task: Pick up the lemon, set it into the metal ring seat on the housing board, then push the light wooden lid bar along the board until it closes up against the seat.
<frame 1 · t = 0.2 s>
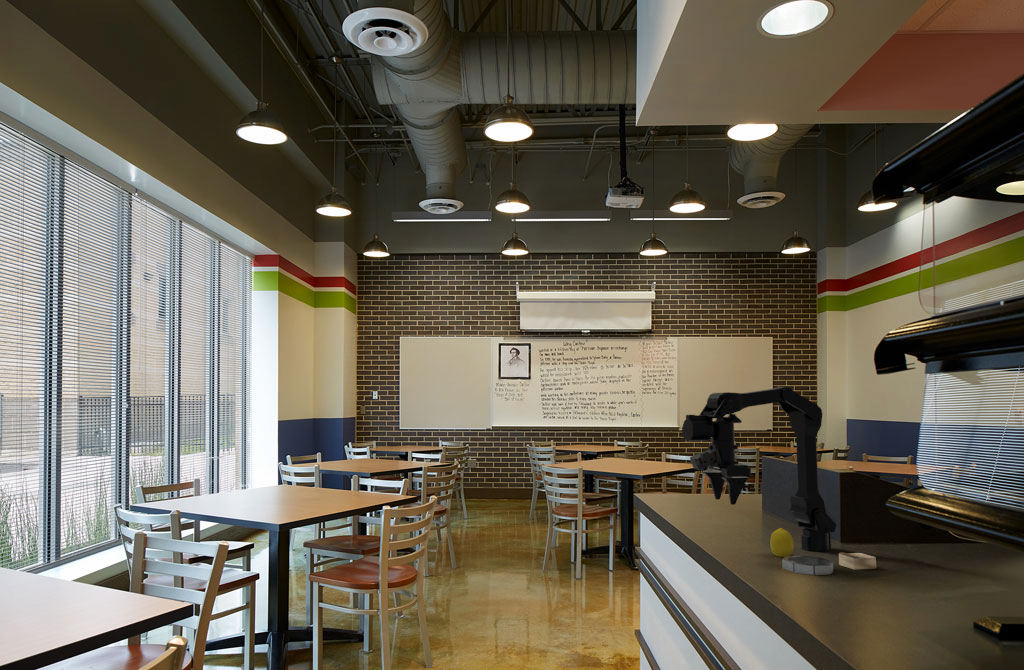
hand: (725, 501, 174), 14 cm above the counter, fingers open, 9 cm apart
lemon: (782, 560, 171), on the counter
housing board: (829, 572, 158), on the counter
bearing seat: (807, 569, 157), resting on housing board
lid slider: (857, 560, 160), point 3 cm above the counter, slide at 5.0 cm
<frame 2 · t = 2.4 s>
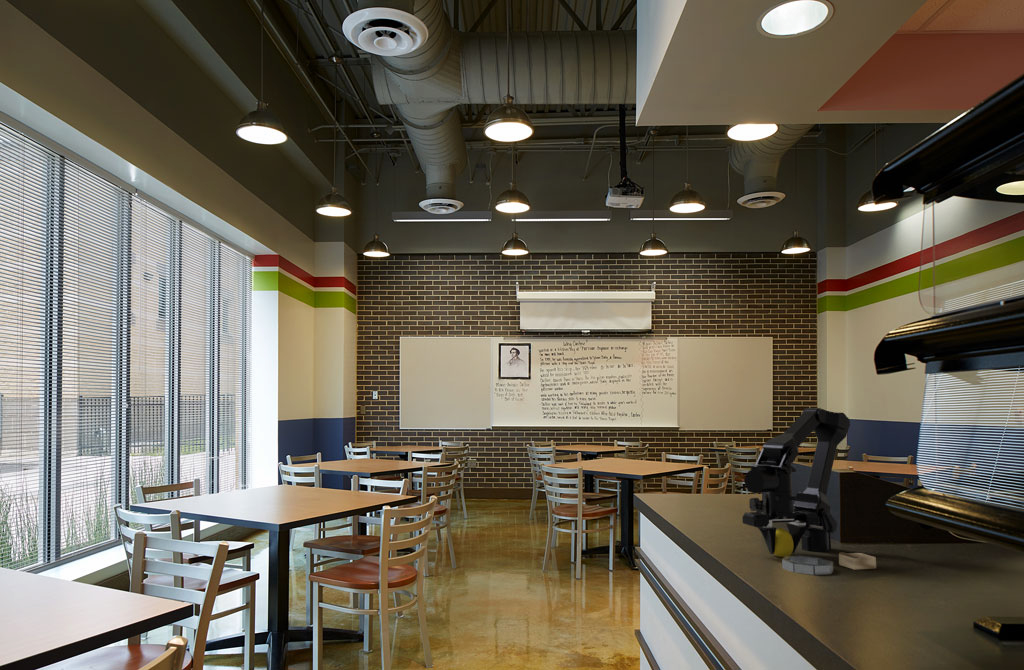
hand: (782, 553, 171), 2 cm above the counter, fingers closed on lemon, 5 cm apart
lemon: (782, 560, 171), on the counter, touching gripper
everything else where it was.
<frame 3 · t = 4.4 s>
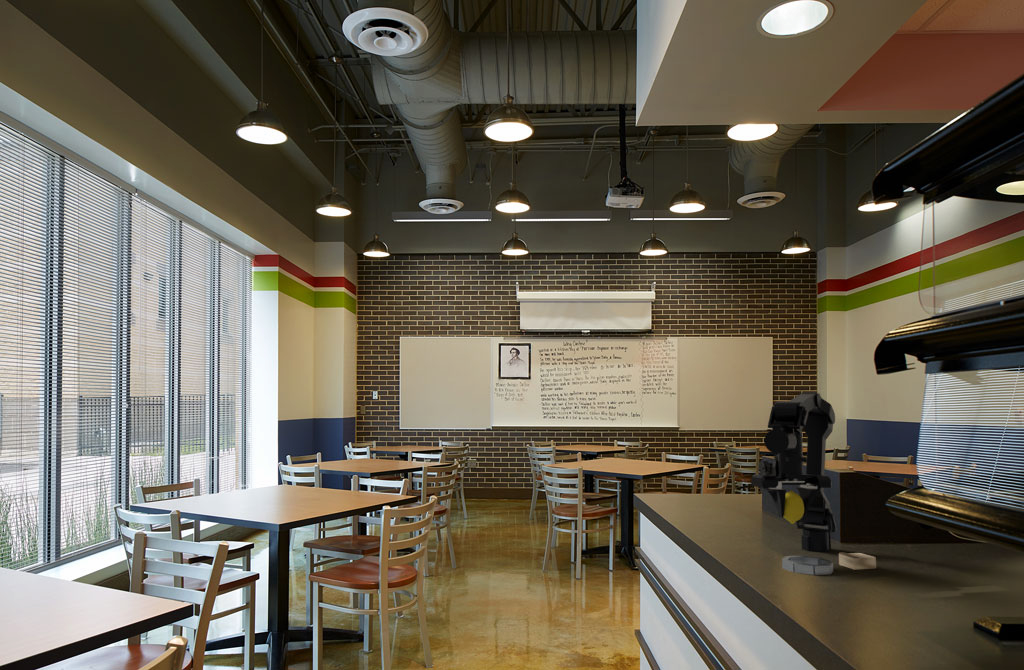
hand: (792, 517, 164), 12 cm above the counter, fingers closed on lemon, 5 cm apart
lemon: (792, 524, 164), point 10 cm above the counter, touching gripper
everything else where it was.
when the fingers open (4 cm above the counter, at t = 6.6 s): lemon drops 1 cm, resting on housing board.
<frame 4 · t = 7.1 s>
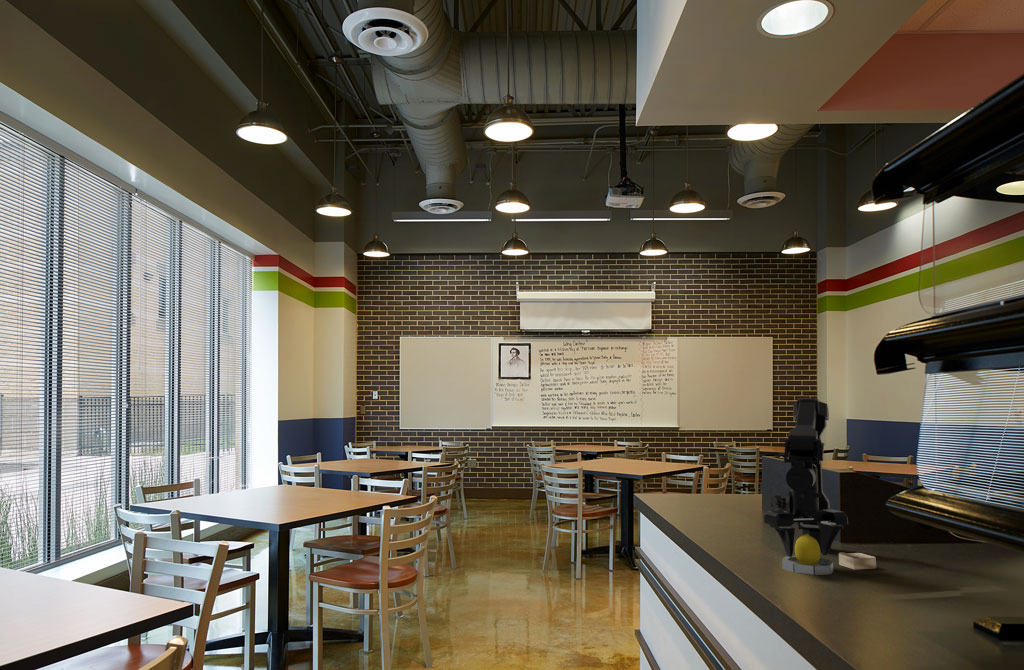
hand: (807, 555, 157), 4 cm above the counter, fingers open, 9 cm apart
lemon: (808, 570, 157), point 1 cm above the counter, touching housing board
everything else where it was.
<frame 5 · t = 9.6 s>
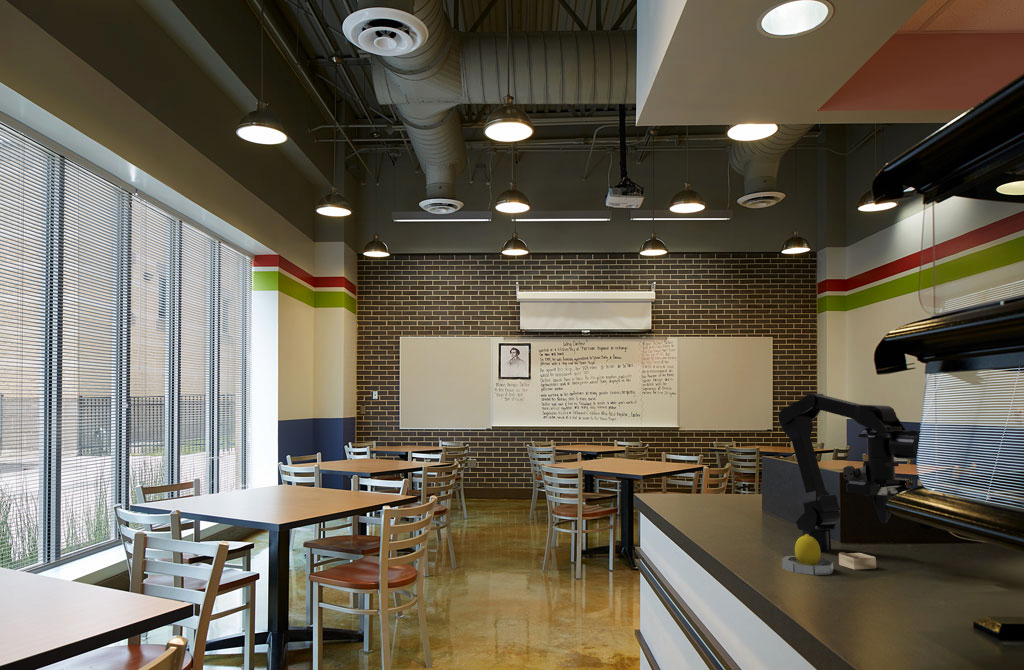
hand: (883, 522, 162), 11 cm above the counter, fingers closed
nothing on the counter moved.
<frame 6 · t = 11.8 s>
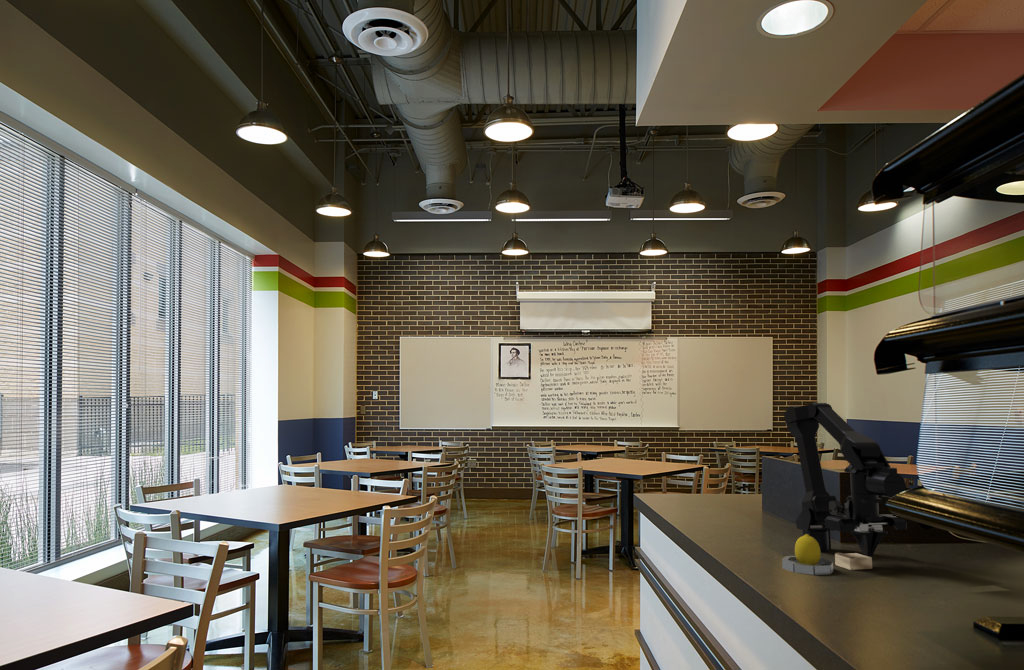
hand: (867, 559, 160), 3 cm above the counter, fingers closed
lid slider: (853, 560, 160), point 3 cm above the counter, slide at 3.9 cm, touching gripper
everything else where it was.
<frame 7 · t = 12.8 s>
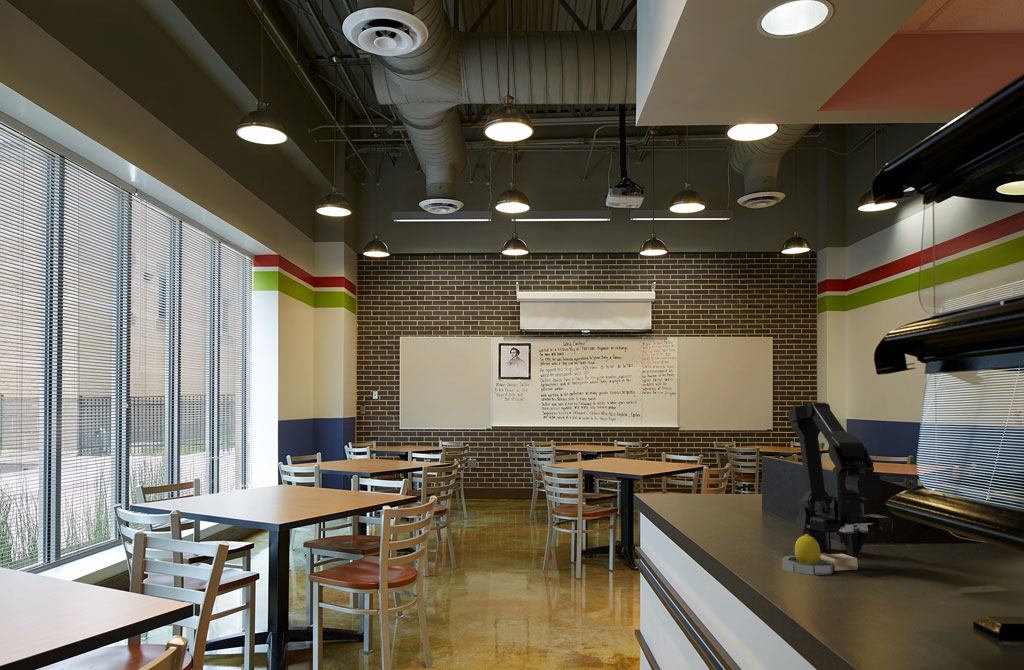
hand: (852, 560, 159), 3 cm above the counter, fingers closed
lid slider: (838, 561, 159), point 3 cm above the counter, slide at -0.1 cm, touching gripper
everything else where it was.
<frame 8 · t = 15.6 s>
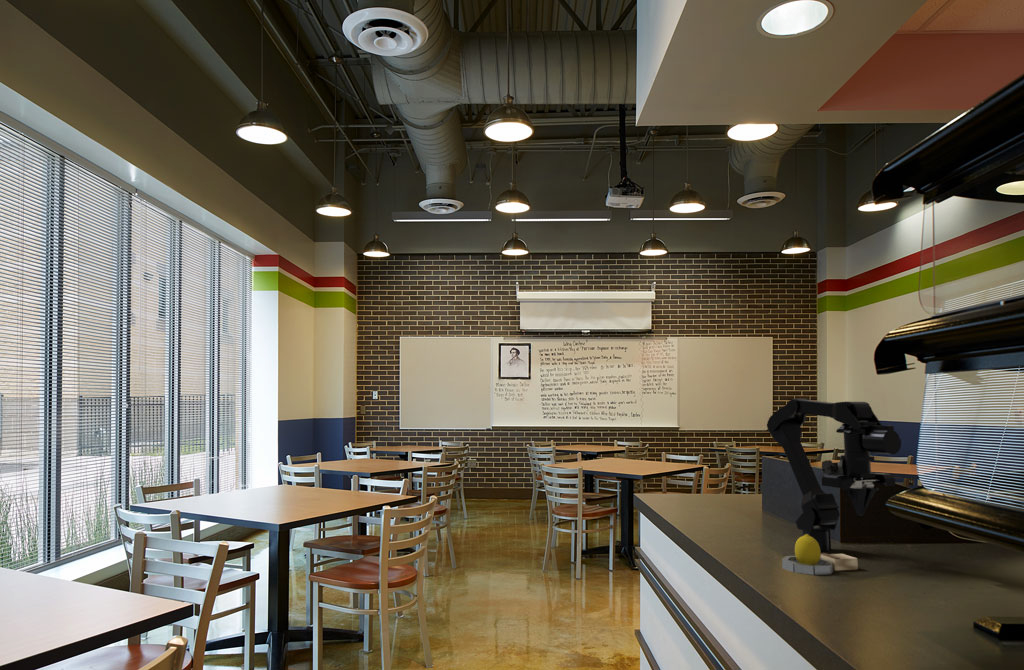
hand: (860, 515, 167), 12 cm above the counter, fingers closed
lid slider: (838, 561, 159), point 3 cm above the counter, slide at 0.0 cm
everything else where it was.
at the end: lemon 0.2 cm off-centre on the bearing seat, point 0.0 cm above the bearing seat's base; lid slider slide at 0.0 cm; the gripper is holding nothing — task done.
